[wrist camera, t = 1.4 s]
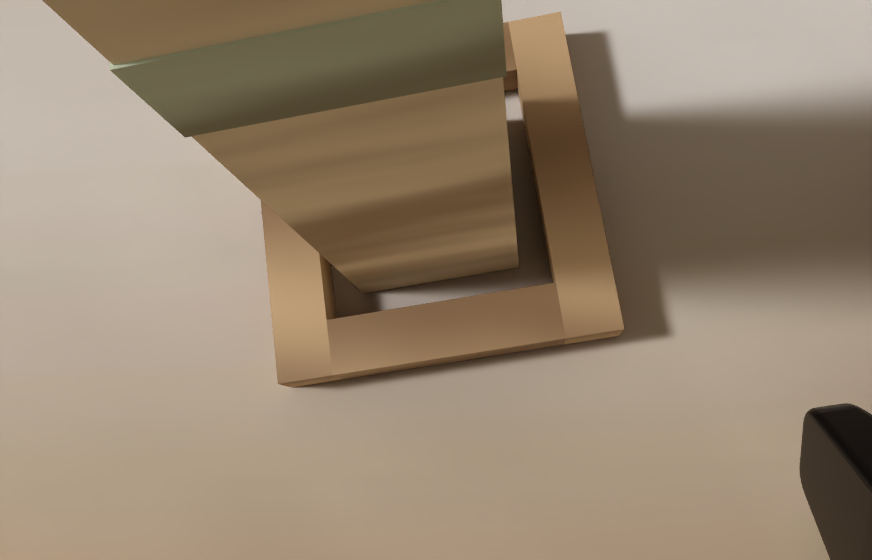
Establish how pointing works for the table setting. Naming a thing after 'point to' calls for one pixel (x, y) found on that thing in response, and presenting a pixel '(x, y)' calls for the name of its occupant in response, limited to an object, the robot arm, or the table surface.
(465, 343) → the square wooden frame
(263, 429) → the table surface
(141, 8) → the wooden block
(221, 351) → the table surface
